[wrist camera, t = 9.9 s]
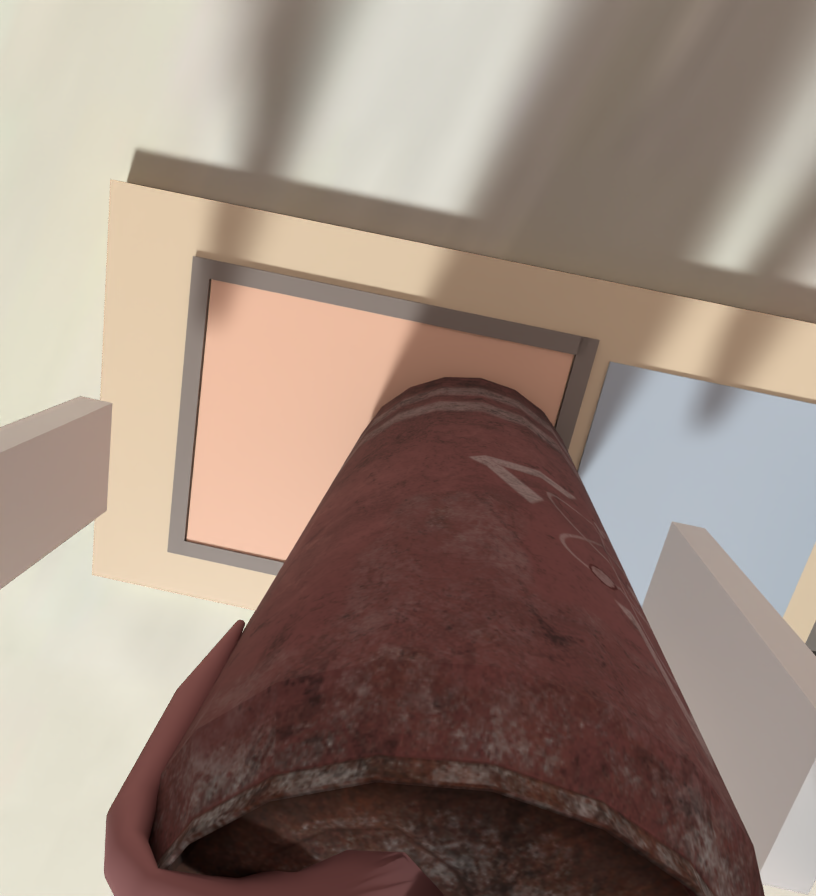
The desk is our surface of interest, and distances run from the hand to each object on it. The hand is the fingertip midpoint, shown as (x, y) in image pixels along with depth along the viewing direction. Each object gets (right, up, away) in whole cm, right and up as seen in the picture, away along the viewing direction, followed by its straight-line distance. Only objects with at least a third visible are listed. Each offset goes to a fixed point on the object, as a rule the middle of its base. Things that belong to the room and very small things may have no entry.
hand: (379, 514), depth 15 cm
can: (+2, +1, +4) cm, 4 cm away
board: (+2, +1, +4) cm, 5 cm away
